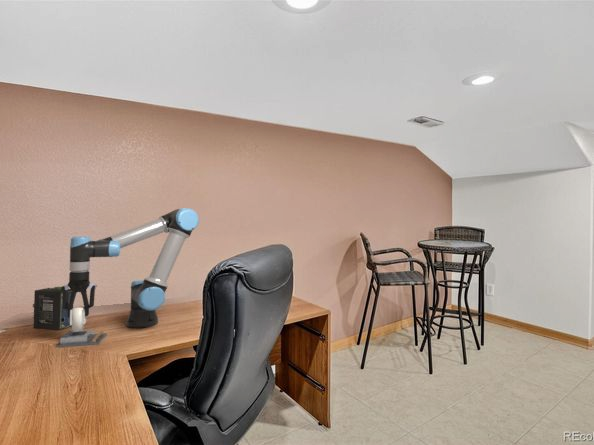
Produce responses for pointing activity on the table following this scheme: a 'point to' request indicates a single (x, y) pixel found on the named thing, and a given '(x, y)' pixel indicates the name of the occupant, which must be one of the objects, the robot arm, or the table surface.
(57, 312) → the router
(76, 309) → the white rounded cylinder
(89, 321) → the table surface
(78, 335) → the jig
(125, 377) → the table surface
